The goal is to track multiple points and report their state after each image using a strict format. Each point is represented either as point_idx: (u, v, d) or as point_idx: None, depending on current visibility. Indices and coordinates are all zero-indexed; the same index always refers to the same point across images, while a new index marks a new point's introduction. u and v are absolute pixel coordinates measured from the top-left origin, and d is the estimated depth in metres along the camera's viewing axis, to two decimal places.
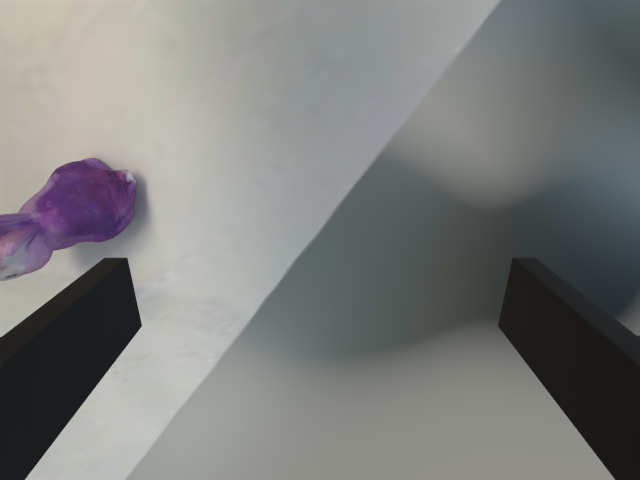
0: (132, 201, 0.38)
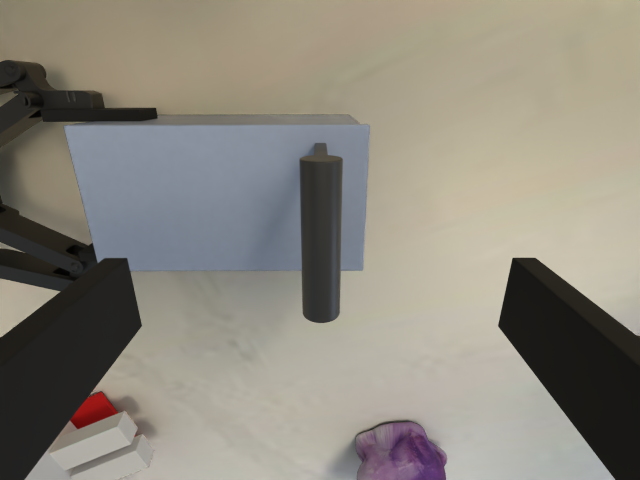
0: None
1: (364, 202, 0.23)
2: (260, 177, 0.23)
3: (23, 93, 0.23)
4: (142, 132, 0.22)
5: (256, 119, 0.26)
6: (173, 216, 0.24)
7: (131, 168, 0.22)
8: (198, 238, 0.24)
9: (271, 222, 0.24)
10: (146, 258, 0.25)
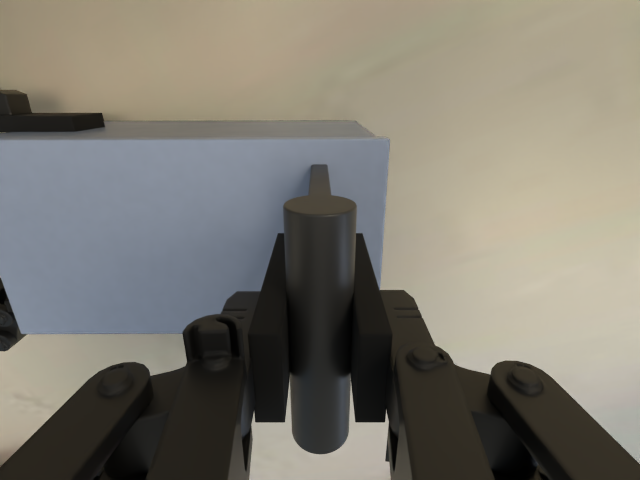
0: None
1: (380, 245, 0.17)
2: (235, 211, 0.16)
3: None
4: (64, 149, 0.15)
5: (233, 128, 0.19)
6: (116, 263, 0.17)
7: (53, 199, 0.16)
8: (152, 292, 0.18)
9: (251, 272, 0.17)
10: (83, 318, 0.18)
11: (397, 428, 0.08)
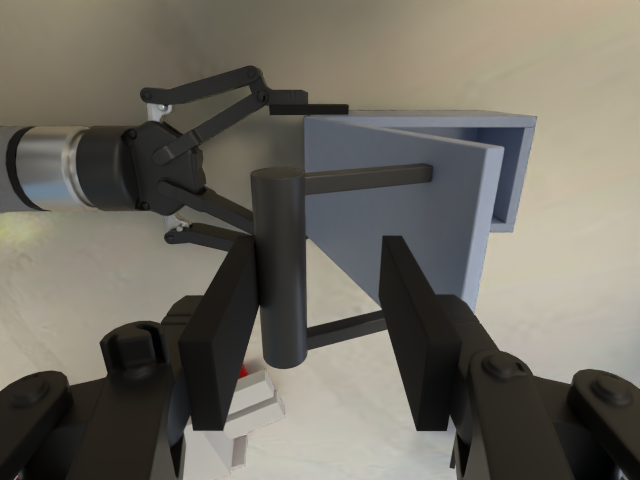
0: None
1: (463, 272, 0.14)
2: (379, 192, 0.19)
3: (263, 92, 0.29)
4: (327, 127, 0.24)
5: (433, 113, 0.32)
6: (333, 208, 0.25)
7: (321, 157, 0.26)
8: (341, 236, 0.24)
9: (380, 248, 0.20)
10: (320, 237, 0.28)
11: (466, 435, 0.08)
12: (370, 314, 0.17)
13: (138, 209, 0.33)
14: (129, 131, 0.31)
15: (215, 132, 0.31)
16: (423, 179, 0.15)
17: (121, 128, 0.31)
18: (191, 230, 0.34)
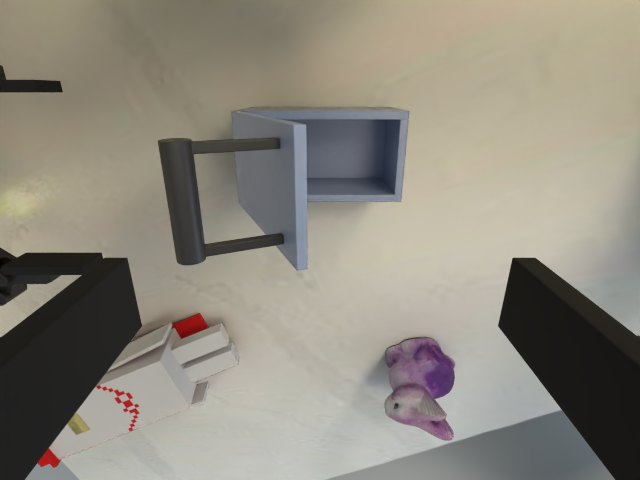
0: None
1: (294, 202, 0.23)
2: (264, 160, 0.28)
3: None
4: (241, 118, 0.33)
5: (338, 109, 0.41)
6: (248, 178, 0.34)
7: None
8: (253, 197, 0.33)
9: (268, 199, 0.29)
10: (245, 202, 0.37)
11: None
12: (251, 237, 0.26)
13: None
14: None
15: None
16: (273, 146, 0.24)
17: None
18: None
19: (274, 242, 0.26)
